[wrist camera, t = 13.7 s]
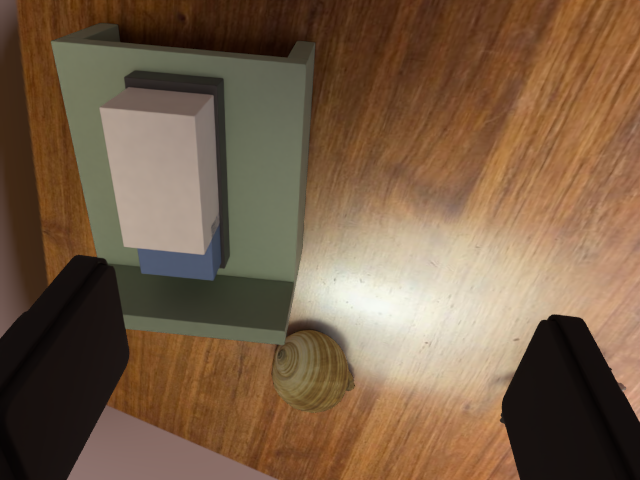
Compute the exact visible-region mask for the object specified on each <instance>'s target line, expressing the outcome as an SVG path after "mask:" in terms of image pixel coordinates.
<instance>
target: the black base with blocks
mask: <svg viewBox="0 0 640 480" xmlns="http://www.w3.org/2000/svg"><path fill="white" fill-rule="evenodd" d="M124 82H125V90H124V91H122V92H121V93H120V94H118V95H117V96H115V97H114V98H112V99H111V100H109V101H108V102H106V103H105V104H104V105H102V106H101V107H100V108H99V109H100V114H101V120H102V126H103V131H104V137H105V142H106V148H107V154H108V159H109V165H110V171H111V176H112V182H113V188H114V193H115V199H116V205H117V210H118V216H119V222H120V227H121V233H122V239H123V244H124V247H131V248H137V251H138V257H139V263H140V269H141V273H142V274H152V275H162V276H172V277H182V278H192V279H201V280H211V281H213V280H214V278H215V276H216V274H217V271H218V269H219V268H221V269H225V267H226V265H227V262H228V260H229V257H230V245H229V217H228V189H227V160H226V132H225V104H224V79H223V78H213V77H202V76H191V75H181V74H170V73H159V72H148V71H137V70H134V71H133V72H131V73H130V74H128V75H126V76H125V77H124Z"/></svg>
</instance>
